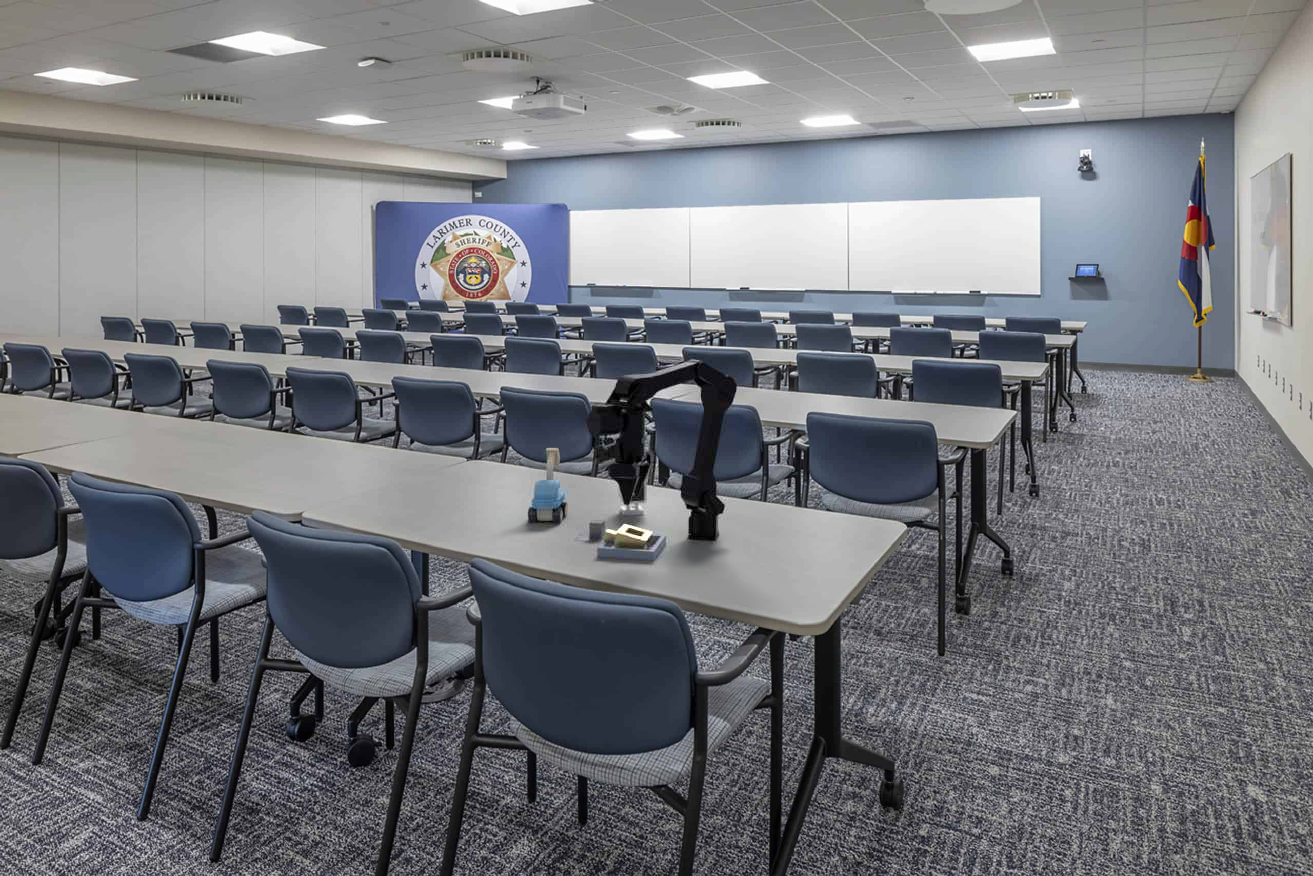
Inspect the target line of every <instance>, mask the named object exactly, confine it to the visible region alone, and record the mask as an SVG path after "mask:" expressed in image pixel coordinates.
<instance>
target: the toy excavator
mask: <svg viewBox="0 0 1313 876" xmlns="http://www.w3.org/2000/svg"><path fill="white" fill-rule="evenodd" d="M545 453H546V454H545V455H546V465H545V466H546V467H545V468H546V470H545V471H546V474H545V476H546V480H537V481H536V482H535V484H534V490H533V491H534V492H533V498H532V499H531V506H529V507H528V510H527V521H528V523H537V522H542V521H543V522H549V521H550V522H551V521H552V522H553V524H561V523H562V522H563V518H566V517H567V515H568V502H567V501H566V502H565V492H564V491H560V490H559V489H560V487H561V483H560V481H559V480H556V479H555V480H554V466H559V465H560V463H561V462H560V460H561V455H560V450H559V448H558V447H547V448H546V449H545Z"/></svg>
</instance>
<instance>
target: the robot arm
mask: <svg viewBox="0 0 1313 876" xmlns="http://www.w3.org/2000/svg"><path fill="white" fill-rule="evenodd" d="M690 381H692V382H693V383H694V384H695V385H696V386H697V387H698V388H700V400H701V404H702V408H703V413H702V419H701V422H700V423H701V424H700V430H699V434H698V440H697V445H696V450H695V455H694V462H693V467H692V469H691V470H690V472H689V473H688V474H686V473H684V474H682V477H681V485H680V487H679V491H680V498H681V499H682V501H683V503H684V505H685V509H687V510H690V515H689V517H688V522H687V524H688V527H687V528H688V530H687V531H688V534H689V536H688V538H689V539H694V540H707V541H711V540H712V541H716V540H717V538H718V536H719V534H720V530H719V515H723V514H724V511H725V507H726V504H725V503H724V502H722V501H721V499H720V498H719V497H718V496H717V491H718V490H717V488H718V487H717V486H718V485H717V481H716V478H715V474H714V470H715V464H716V460H717V459H716V458H717V454H718V448H719V444H720V440H721V439H720V437H721V433H722V428H723V423H724V419H725V413H726V412H727V411H728V409H729V408H730V407H731V406H732V405H733V403H734V399H735V396H736V394H737V390H738V386H737V384H738V383H737V382H736V381H735V379H734V378H733V377H732V376H729V375H726V374H724V373H722V372H720V371H719V370H717V369H715V368H714V367H712V366H711V365H709V363H707V362H705V361H703V360H700V359H699V360H697V359H689V360H687V361H685V362H683V363H679V364H677V365H672V366H670V367H667V368H663V369H660V370H657V371H654V372H651V373H641V374H640V373H639V374H637V373H635V374H627V375H625V374H624V375H622V376H620V377H618V378H617V381H616V383H615V386H614V388H613V390H612V391H611V394H610V395H609V396H608V398H607V400H606V402H605V404H603V405H600V404H595V405H591V411H589V413H588V416H587V419H586V427H587V430H588V433H589V434H590V435H591V437H593V438H595V437H606V436H612V435H618V437H616V439H615V442H612V443H609V444H607V445H605V444H603V443H602V444H601V445H597V446H596V447H595V449H594V450H593V452H592V453H593V459H594V460H596V462H597V465H600V464H604V462H607V461H610V460H613V459H614V460H615V461H614V462H613V463H612V464H610V466H608V469H607V471H608V473H607V475H608V477H610V479H611V480H613V481H615V482H616V483H617V485H618V489H619V488H620V491H621V495H622V498H623V502H624V503H623V502H622V503H623V506H626V505H629V506H630V501H631V499H632V496H633V493H634V495H639V494H640V491H641V489H642V487H643V484H644V482H645V480H646V479H647V477H648V475H649V473H650V470H651V468H652V466H653V463H654V461H655V459H654V457H655V455H654V452H653V451H652V450H651V449H649V448H648V449H647V448H646V449H645V447H646V446H645V445H646V444H645V442H647V440H648V438H647V437H648V436H647V435H646V434H645V431H646V430H645V429H646V428H645V426H646V423H645V422H646V418H645V417H646V416H645V415H646V414H645V413H646V412H647V413H648V412H649V413H650V412H653V411H654V408H653V407H652V406H651V405H650V404H649V403H648V402H647V401H648V400H650V399H652V398H654V397H655V396H656V394H657V393H659V392H660V391H663V390H666V389H668V388H672V387H675V386H677V385H681V384H684V383H687V382H690ZM647 462H648V463H647Z"/></svg>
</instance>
